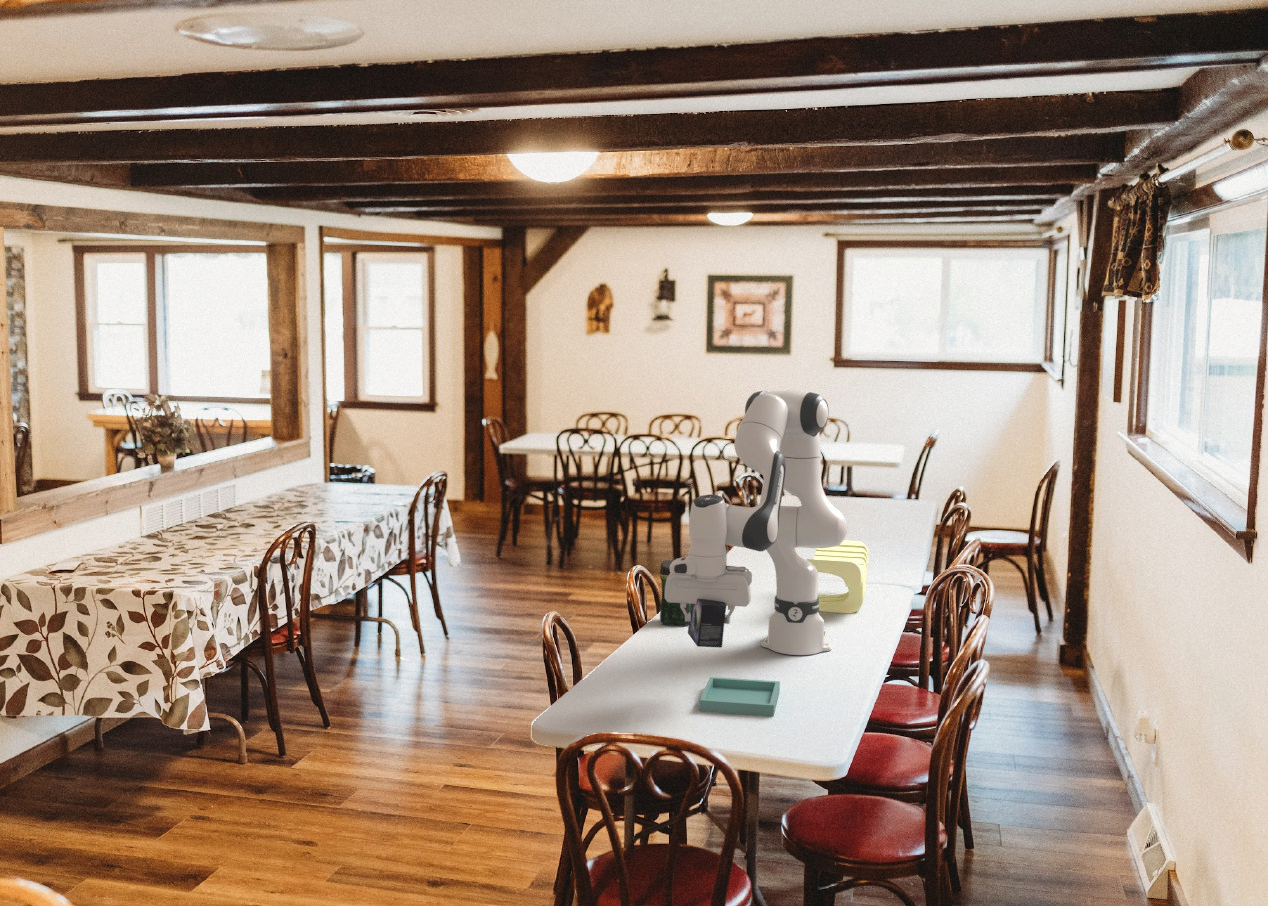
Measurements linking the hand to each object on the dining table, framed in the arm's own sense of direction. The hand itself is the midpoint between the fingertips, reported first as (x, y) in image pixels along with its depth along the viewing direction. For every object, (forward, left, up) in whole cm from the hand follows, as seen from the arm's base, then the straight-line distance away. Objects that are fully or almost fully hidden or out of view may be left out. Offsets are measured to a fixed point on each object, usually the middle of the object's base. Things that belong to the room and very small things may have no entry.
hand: (707, 622), depth 276 cm
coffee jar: (-62, -18, -19) cm, 67 cm away
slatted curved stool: (-90, +28, -19) cm, 96 cm away
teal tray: (+1, +8, -19) cm, 20 cm away
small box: (0, -1, -5) cm, 5 cm away
